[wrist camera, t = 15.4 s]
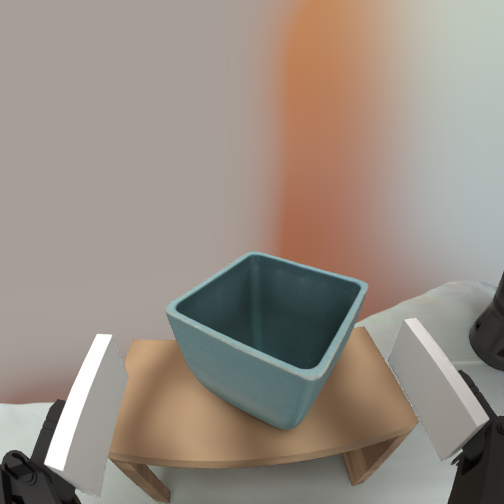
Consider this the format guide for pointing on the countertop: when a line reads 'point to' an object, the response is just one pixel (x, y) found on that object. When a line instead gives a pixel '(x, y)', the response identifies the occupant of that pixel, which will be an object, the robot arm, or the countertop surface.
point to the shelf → (254, 418)
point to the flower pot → (266, 333)
